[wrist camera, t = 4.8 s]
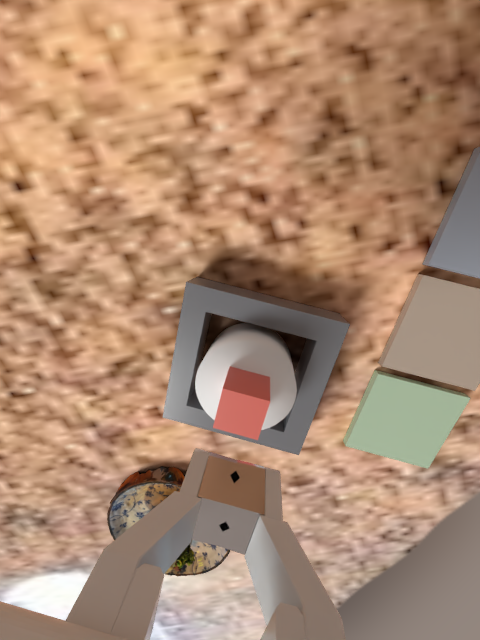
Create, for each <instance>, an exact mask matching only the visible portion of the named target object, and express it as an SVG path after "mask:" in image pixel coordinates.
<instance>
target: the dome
mask: <svg viewBox="0 0 480 640" xmlns="http://www.w3.org/2000/svg"><path fill="white" fill-rule="evenodd" d="M195 389H196V394H197V398H198V400H199V402H200V404H201V406H202V408H203V409H204V410H205V412H206V413H207V414H208V415H209V416H210V417H211V418H212V419H213V420H215V421H214V425H213V428H215V429H219V430H223V431H226V432H230V433H233V434H237V435H241V436H244V437H248V438H252V439H255V440H258V438H259V435H260V432H261V430H264V429H267V428H270V427H272V426H274V425H276V424H277V423H279V422H280V421H281V420H283V419H284V418H285V417H286V416H287V414H288V413H289V412H290V410H291V409H292V407H293V404H294V402H295V398H296V392H297V387H296V380H295V375H294V370H293V365H292V360H291V355H290V351H289V348H288V346H287V344H286V343H285V341H284V340H283V338H282V337H281V336H280V335H279V334H278V333H276V332H275V331H274V330H272V329H270V328H266V327H262V326H258V325H255V324H251V323H240V324H236V325H233V326H230V327H228V328H227V329H225V330H223V331H222V332H221V333H220V334H219V335H218V336H217V337H216V338H215V340H214V341H213V343H212V345H211V346H210V348H209V350H208V352H207V354H206V355H205V357H204V359H203V361H202V362H201V364H200V366H199V368H198V371H197V374H196V379H195Z"/></svg>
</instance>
